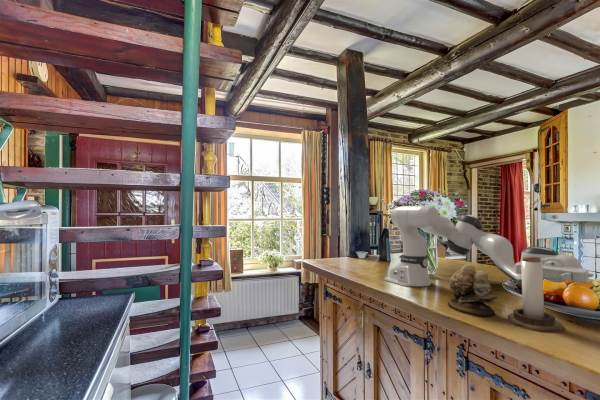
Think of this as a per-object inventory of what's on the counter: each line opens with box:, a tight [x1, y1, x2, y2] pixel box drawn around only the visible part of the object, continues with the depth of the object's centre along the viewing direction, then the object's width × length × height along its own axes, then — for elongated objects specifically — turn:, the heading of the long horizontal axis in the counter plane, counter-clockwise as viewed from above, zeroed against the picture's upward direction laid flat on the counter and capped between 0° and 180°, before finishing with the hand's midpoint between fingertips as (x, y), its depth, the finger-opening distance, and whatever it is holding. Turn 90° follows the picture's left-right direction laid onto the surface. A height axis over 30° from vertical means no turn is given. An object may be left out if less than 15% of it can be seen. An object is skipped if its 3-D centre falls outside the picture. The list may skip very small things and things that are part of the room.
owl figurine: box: [447, 263, 498, 318], centre depth 111 cm, size 18×12×17 cm, turn 25°
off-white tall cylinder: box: [520, 256, 545, 319], centre depth 98 cm, size 6×6×20 cm
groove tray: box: [507, 307, 563, 333], centre depth 98 cm, size 14×14×3 cm
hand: (542, 274), depth 102 cm, fingers open, 8 cm apart
